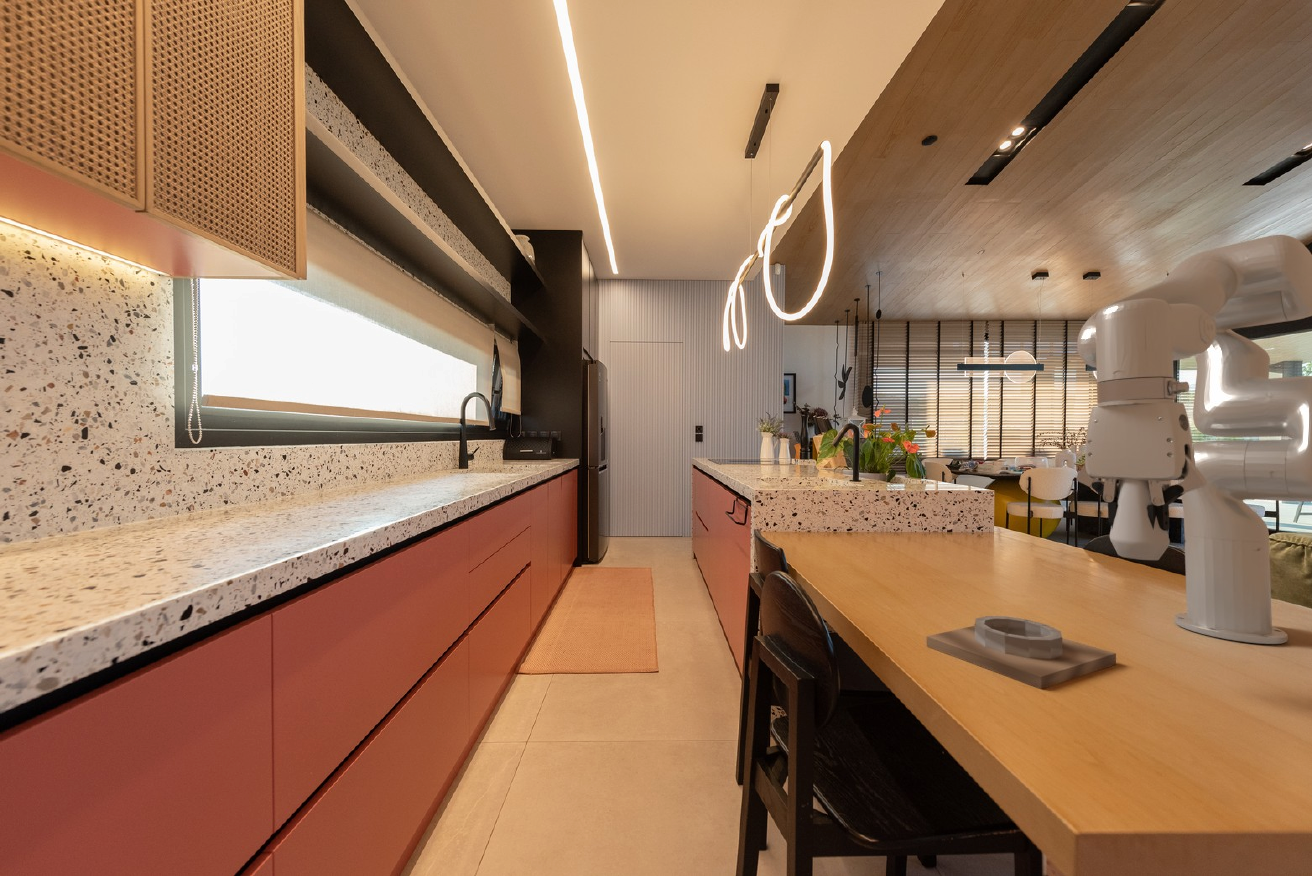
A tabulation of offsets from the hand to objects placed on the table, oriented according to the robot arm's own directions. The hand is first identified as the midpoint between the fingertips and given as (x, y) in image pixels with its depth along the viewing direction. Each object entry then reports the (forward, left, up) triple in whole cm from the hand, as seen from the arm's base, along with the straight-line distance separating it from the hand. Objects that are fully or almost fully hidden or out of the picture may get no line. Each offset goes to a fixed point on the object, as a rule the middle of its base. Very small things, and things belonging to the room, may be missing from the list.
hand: (1138, 532), depth 69 cm
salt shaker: (0, 0, -3) cm, 3 cm away
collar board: (+6, -12, -19) cm, 23 cm away
